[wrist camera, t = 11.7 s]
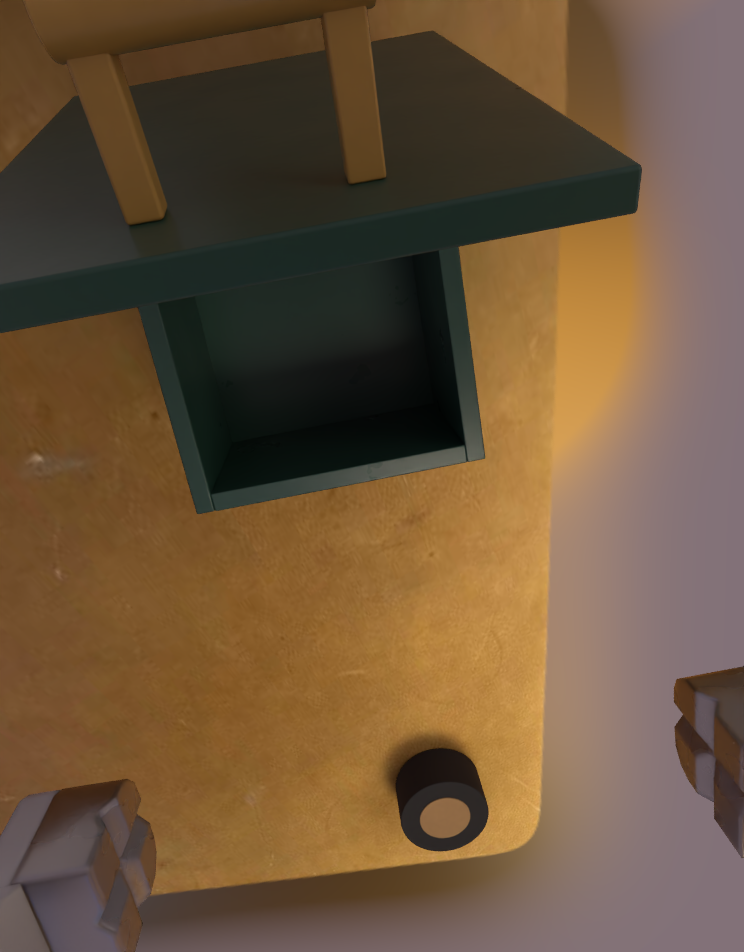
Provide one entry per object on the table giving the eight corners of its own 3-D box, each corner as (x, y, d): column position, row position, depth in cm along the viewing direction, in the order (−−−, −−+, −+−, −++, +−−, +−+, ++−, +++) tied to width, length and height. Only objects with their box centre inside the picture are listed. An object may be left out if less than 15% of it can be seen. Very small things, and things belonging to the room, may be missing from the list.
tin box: (448, 411, 38) (485, 459, 29) (222, 454, 37) (196, 515, 29) (402, 97, 32) (432, 46, 24) (141, 145, 32) (81, 111, 24)
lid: (639, 214, 11) (686, -189, 8) (-107, 355, 11) (-351, -3, 8) (435, 56, 24) (424, -128, 21) (81, 121, 24) (15, -55, 21)
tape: (472, 740, 45) (483, 774, 42) (482, 805, 47) (493, 842, 44) (389, 757, 45) (394, 792, 42) (402, 822, 47) (408, 860, 44)
